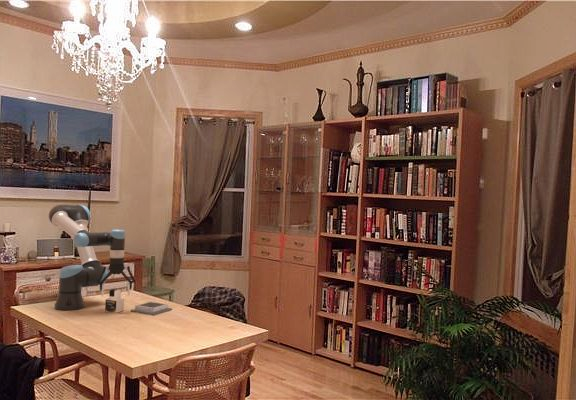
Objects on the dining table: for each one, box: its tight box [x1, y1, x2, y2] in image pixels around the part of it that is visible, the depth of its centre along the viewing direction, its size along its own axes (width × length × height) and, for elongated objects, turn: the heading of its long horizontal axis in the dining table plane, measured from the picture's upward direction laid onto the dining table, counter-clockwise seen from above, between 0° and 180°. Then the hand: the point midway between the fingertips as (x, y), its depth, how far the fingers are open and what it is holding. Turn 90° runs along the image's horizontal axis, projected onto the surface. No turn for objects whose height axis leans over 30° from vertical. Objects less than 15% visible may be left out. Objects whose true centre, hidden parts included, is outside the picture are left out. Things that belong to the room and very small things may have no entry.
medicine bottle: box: [104, 288, 125, 314], centre depth 261 cm, size 7×7×12 cm
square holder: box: [130, 301, 173, 316], centre depth 266 cm, size 16×16×3 cm
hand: (115, 295), depth 261 cm, fingers open, 13 cm apart
